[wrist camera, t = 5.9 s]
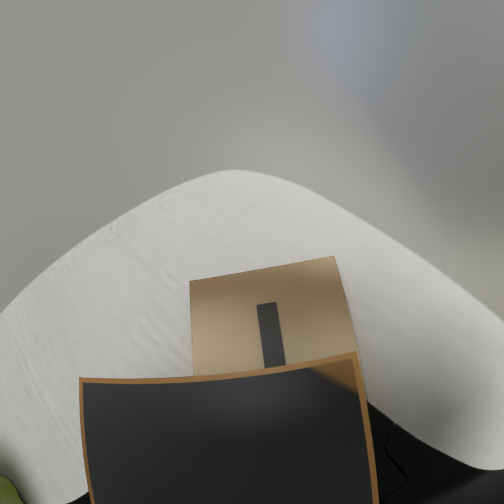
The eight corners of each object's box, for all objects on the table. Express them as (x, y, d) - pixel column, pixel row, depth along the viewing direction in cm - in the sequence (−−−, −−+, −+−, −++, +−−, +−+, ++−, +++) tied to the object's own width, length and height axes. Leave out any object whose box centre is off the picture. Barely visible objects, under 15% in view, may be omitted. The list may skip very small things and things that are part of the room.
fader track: (374, 549, 8) (383, 563, 6) (233, 567, 8) (225, 582, 7) (331, 271, 17) (334, 254, 15) (200, 294, 18) (188, 280, 16)
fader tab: (314, 437, 10) (379, 560, 1) (255, 445, 11) (104, 554, 1) (308, 393, 12) (356, 351, 2) (250, 402, 12) (79, 377, 2)
